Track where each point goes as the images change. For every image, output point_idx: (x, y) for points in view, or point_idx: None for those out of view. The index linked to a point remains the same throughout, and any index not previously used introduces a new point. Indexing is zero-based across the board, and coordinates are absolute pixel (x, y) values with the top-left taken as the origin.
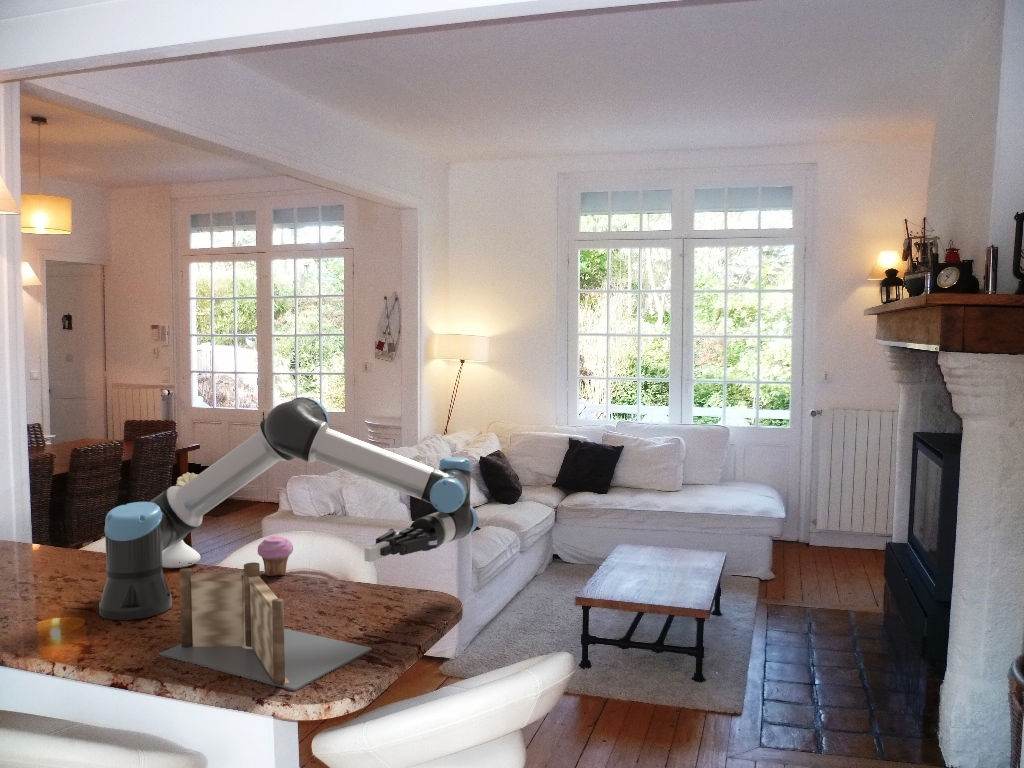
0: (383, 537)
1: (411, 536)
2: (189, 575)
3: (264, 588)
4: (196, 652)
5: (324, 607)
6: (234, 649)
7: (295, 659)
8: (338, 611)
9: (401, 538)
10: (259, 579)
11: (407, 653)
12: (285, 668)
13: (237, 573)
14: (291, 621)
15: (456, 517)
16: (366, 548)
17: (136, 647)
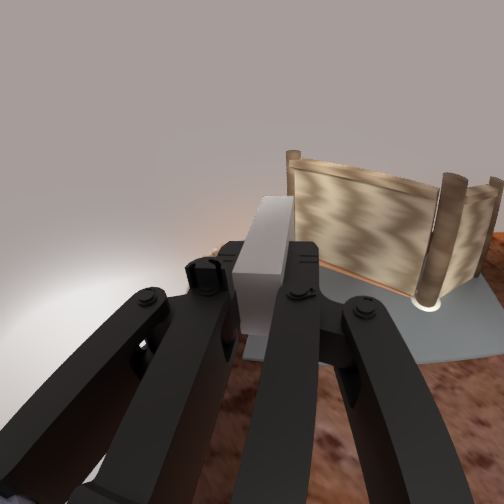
0: (366, 356)
1: (104, 485)
2: (489, 184)
3: (368, 172)
4: None
5: (499, 482)
6: None
7: (332, 290)
8: None
9: (186, 401)
10: (418, 186)
11: None
12: (321, 271)
13: (470, 194)
14: (482, 393)
15: None
16: (284, 197)
17: (497, 260)
